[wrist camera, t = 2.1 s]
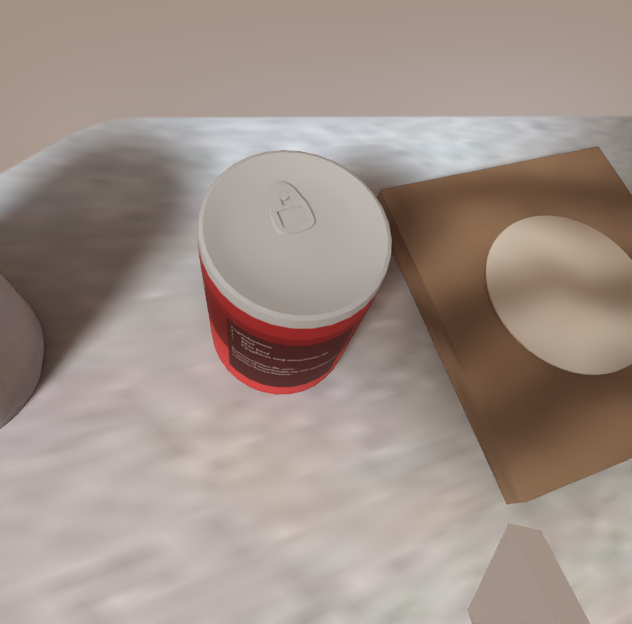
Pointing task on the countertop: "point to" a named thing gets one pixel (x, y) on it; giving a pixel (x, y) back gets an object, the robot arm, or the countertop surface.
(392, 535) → the countertop surface
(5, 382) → the pillar candle
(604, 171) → the board
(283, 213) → the canned food
